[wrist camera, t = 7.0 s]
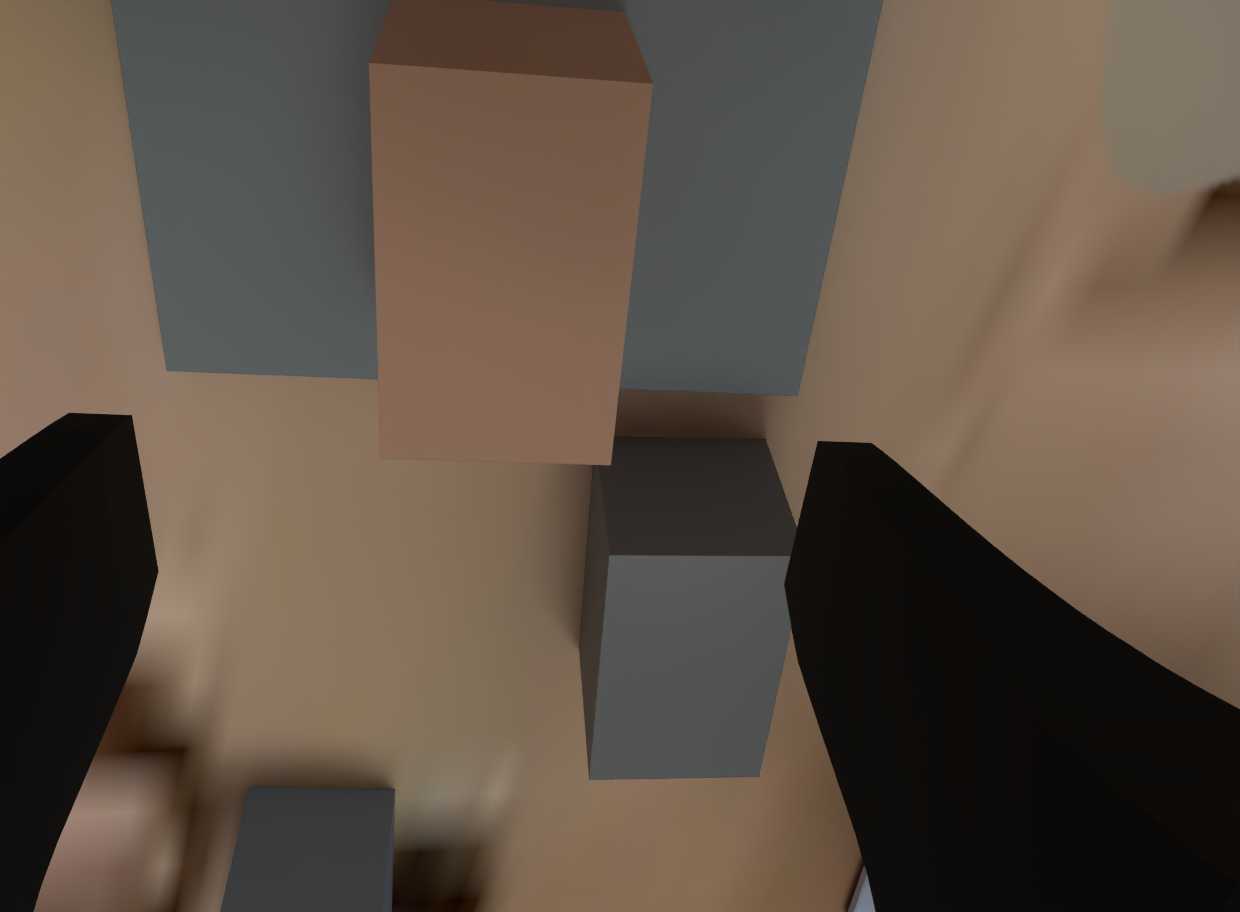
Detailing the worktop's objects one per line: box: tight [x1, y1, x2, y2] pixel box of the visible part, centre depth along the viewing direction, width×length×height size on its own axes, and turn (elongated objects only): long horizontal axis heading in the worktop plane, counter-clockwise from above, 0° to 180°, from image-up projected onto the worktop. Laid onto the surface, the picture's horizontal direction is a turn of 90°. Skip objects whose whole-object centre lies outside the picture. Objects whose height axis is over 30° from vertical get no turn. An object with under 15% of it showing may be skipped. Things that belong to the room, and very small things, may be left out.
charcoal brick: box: [579, 437, 797, 780], centre depth 23 cm, size 4×6×4 cm, turn 176°
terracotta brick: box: [369, 0, 653, 465], centre depth 17 cm, size 4×6×4 cm, turn 174°
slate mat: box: [111, 0, 883, 396], centre depth 19 cm, size 12×9×1 cm
